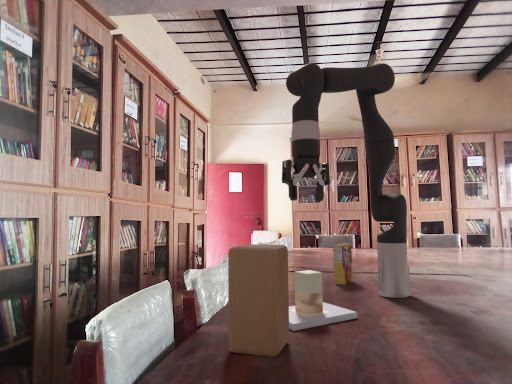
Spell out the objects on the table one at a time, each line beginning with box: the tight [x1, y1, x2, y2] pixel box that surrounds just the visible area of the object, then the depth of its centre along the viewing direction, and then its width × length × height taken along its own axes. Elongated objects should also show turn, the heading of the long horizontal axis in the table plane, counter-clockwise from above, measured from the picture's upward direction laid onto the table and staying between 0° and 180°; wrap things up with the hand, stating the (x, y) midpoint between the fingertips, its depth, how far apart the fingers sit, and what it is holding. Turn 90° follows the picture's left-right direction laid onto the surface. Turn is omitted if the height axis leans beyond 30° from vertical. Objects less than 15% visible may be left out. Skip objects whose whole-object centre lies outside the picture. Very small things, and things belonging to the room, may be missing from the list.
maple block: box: [294, 290, 324, 315], centre depth 94 cm, size 5×5×5 cm
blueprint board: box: [289, 301, 358, 332], centre depth 93 cm, size 20×14×2 cm
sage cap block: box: [294, 269, 323, 294], centre depth 94 cm, size 5×5×5 cm
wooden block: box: [227, 243, 290, 358], centre depth 73 cm, size 10×10×20 cm
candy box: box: [332, 242, 354, 286], centre depth 143 cm, size 9×4×15 cm, turn 141°
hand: (306, 200), depth 95 cm, fingers open, 8 cm apart
